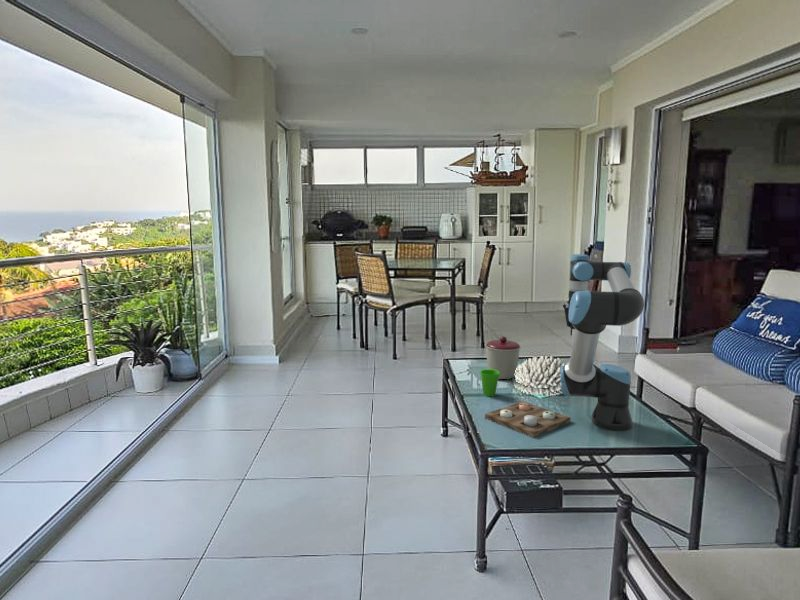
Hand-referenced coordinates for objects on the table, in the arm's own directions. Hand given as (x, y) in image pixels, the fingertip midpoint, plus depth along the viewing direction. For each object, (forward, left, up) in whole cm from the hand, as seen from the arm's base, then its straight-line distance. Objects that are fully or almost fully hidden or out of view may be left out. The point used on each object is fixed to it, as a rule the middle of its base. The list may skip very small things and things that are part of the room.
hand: (574, 343), depth 239 cm
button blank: (-8, +40, -25) cm, 48 cm away
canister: (+42, -3, -27) cm, 50 cm away
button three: (+4, +28, -26) cm, 38 cm away
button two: (-8, +28, -26) cm, 39 cm away
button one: (+4, +40, -26) cm, 48 cm away
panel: (-2, +34, -26) cm, 43 cm away
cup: (+28, +23, -27) cm, 45 cm away
